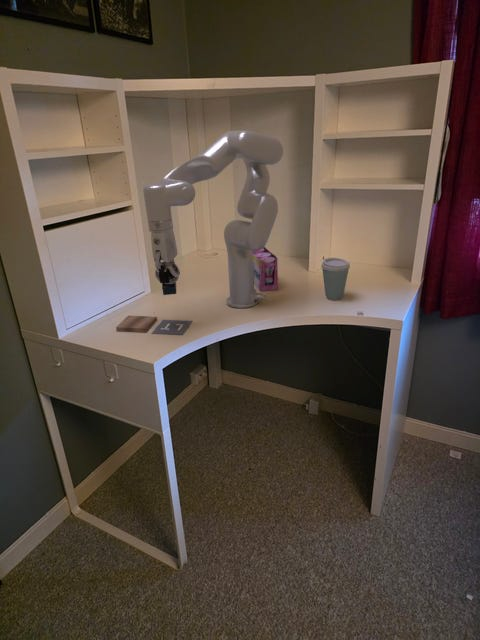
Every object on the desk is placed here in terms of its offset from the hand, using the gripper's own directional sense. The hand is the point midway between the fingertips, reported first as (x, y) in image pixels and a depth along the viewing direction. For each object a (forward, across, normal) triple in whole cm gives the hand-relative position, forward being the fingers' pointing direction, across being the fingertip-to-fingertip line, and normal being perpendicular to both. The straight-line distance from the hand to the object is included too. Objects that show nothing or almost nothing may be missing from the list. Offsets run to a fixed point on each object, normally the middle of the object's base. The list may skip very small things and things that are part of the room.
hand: (168, 279), depth 141 cm
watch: (+5, +2, +1) cm, 5 cm away
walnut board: (+17, -1, +14) cm, 22 cm away
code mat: (+17, -1, 0) cm, 17 cm away
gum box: (+19, +48, -24) cm, 57 cm away
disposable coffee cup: (+19, +32, -54) cm, 66 cm away
